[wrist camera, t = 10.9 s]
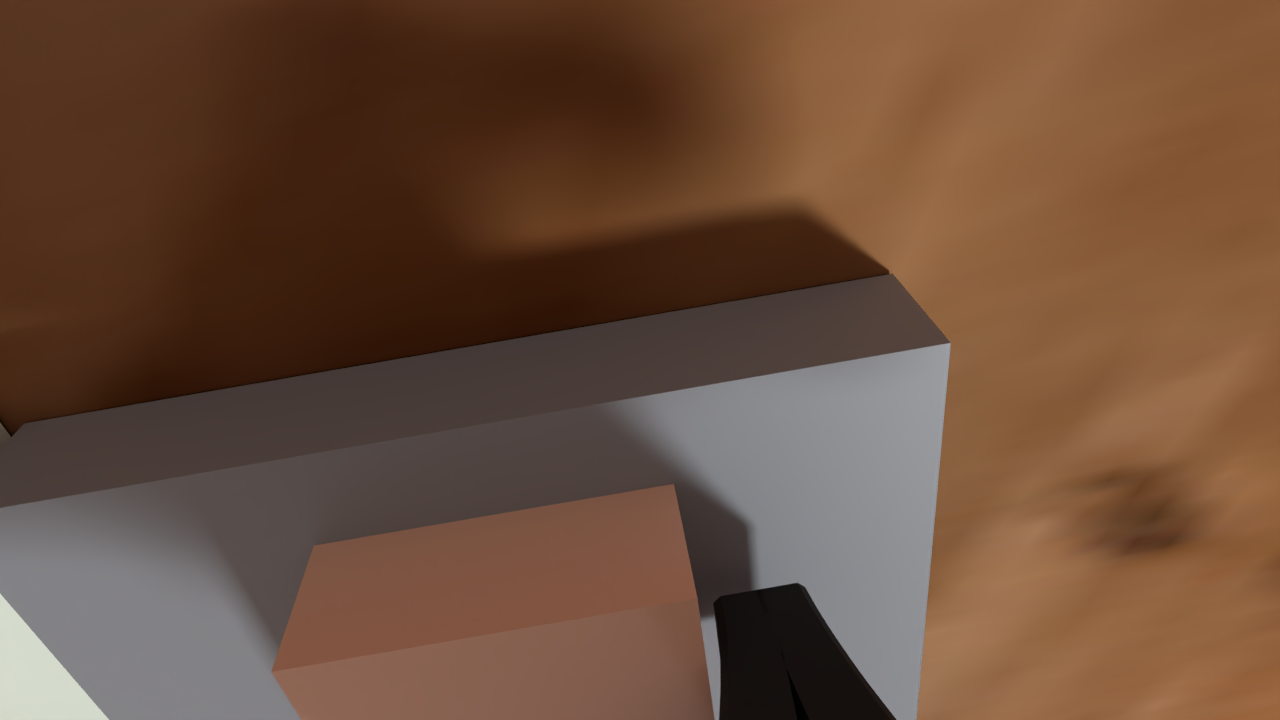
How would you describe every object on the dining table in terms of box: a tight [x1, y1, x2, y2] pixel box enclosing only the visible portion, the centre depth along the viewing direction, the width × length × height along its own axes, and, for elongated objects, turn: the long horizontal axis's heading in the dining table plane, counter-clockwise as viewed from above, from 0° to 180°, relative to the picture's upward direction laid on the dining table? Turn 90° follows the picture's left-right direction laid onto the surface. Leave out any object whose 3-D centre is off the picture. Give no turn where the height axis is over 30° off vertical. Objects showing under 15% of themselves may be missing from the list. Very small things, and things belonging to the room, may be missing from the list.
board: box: [0, 274, 951, 720], centre depth 15 cm, size 15×13×2 cm
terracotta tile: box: [271, 484, 715, 720], centre depth 11 cm, size 5×5×2 cm
